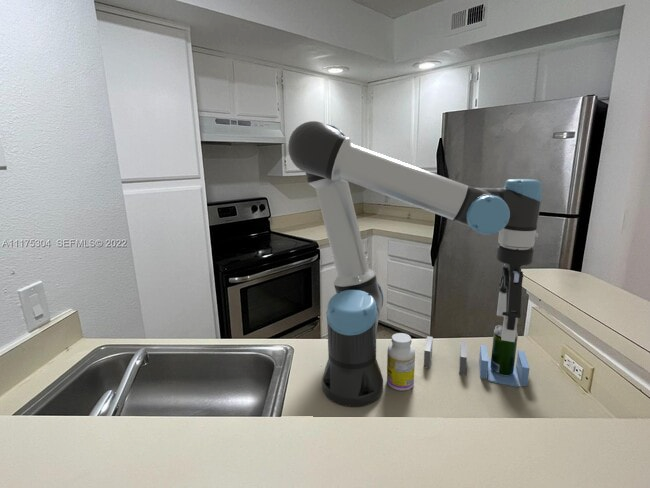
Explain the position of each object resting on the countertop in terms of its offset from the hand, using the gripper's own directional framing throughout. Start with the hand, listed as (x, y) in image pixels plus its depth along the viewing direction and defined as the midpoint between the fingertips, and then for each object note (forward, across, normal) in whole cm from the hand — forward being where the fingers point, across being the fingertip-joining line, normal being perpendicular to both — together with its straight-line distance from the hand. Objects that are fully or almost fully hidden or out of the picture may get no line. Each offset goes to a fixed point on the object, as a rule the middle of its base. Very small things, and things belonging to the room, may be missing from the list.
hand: (504, 327), depth 87 cm
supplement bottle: (+14, -13, +23) cm, 30 cm away
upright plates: (+13, 0, +6) cm, 14 cm away
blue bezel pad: (+13, 0, -1) cm, 13 cm away
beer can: (+13, 0, -1) cm, 13 cm away
